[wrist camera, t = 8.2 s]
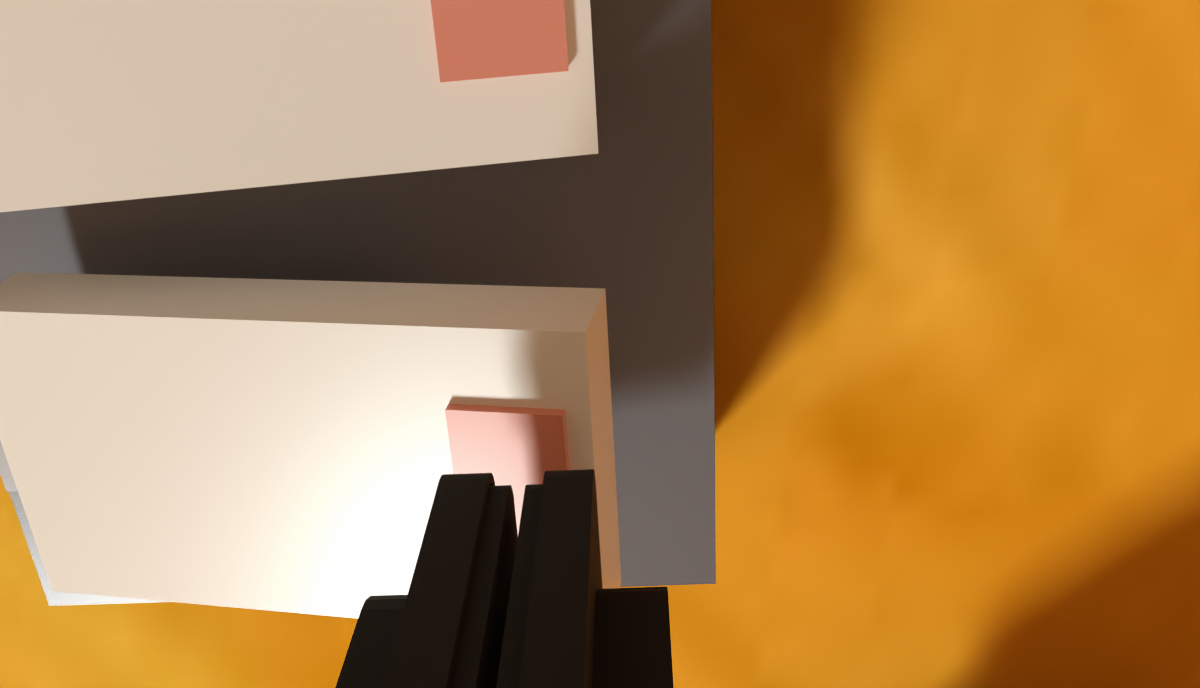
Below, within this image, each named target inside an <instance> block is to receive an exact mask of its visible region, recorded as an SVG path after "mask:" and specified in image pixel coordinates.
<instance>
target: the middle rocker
mask: <svg viewBox="0 0 1200 688" xmlns="http://www.w3.org/2000/svg"><path fill="white" fill-rule="evenodd" d="M589 154H598V136H597V117H596V99H595V81H594V63H593V44H592V26H591V8H590V0H0V212H10V211H20V210H31V209H41V208H51V207H61V206H71V205H81V204H91V203H102V202H112V201H122V200H132V199H142V198H152V197H163V196H173V195H183V194H193V193H203V192H213V191H224V190H234V189H244V188H254V187H264V186H274V185H284V184H295V183H305V182H315V181H325V180H335V179H345V178H356V177H366V176H376V175H386V174H396V173H406V172H417V171H427V170H437V169H447V168H457V167H467V166H478V165H488V164H498V163H508V162H518V161H528V160H538V159H549V158H559V157H569V156H579V155H589Z"/></svg>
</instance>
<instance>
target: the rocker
mask: <svg viewBox="0 0 1200 688" xmlns="http://www.w3.org/2000/svg"><path fill="white" fill-rule="evenodd" d="M0 441H1V444H2V447H3V450H4V453H5V456H6V459H7V461H8V464H9V467H10V470H11V473H12V476H13V479H14V481H15V484H16V487H17V490H18V493H19V496H20V499H21V502H22V504H23V507H24V510H25V513H26V516H27V519H28V522H29V525H30V527H31V530H32V533H33V536H34V539H35V542H36V545H37V548H38V550H39V553H40V556H41V559H42V562H43V565H44V568H45V571H46V573H47V576H48V579H49V582H50V585H51V588H52V591H58V592H69V593H80V594H91V595H102V596H113V597H125V598H136V599H147V600H158V601H169V602H180V603H191V604H202V605H213V606H224V607H236V608H247V609H258V610H269V611H280V612H291V613H302V614H313V615H324V616H335V617H346V618H359V615H360V612H361V609H362V607H363V605H364V602H365V600H366V599H367V598H368V597H370V596H381V595H408V592H409V588H410V584H411V581H412V577H413V573H414V570H415V566H416V563H417V559H418V555H419V552H420V548H421V544H422V541H423V537H424V534H425V530H426V526H427V523H428V519H429V515H430V512H431V508H432V505H433V501H434V497H435V494H436V490H437V486H438V483H439V480H440V477H441V475H443V474H469V473H492V474H493V477H494V481H495V486H501V485H511V486H512V490H513V495H514V504H515V514H516V524H517V533H518V532H519V526H520V519H521V512H522V505H523V498H524V491H525V486H526V485H530V484H543V478H544V472H545V471H556V470H585V469H594V471H595V480H596V494H597V510H598V525H599V541H600V556H601V572H602V587H603V589H612V588H620V585H621V564H620V546H619V527H618V509H617V491H616V473H615V455H614V437H613V418H612V400H611V382H610V364H609V346H608V328H607V309H606V291H605V288H573V287H537V286H500V285H464V284H428V283H392V282H355V281H319V280H283V279H247V278H210V277H174V276H138V275H102V274H65V273H29V272H17V273H16V274H14V275H12V276H11V277H9V278H7V279H6V280H4V281H2V282H1V283H0Z"/></svg>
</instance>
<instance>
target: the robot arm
mask: <svg viewBox="0 0 1200 688" xmlns="http://www.w3.org/2000/svg"><path fill="white" fill-rule="evenodd" d="M336 688H673V674H672V657H671V640H670V623H669V605H668V590H667V587H645V588H612V589H603V587H602V572H601V556H600V541H599V525H598V510H597V494H596V480H595V471H594V469H585V470H556V471H545V472H544V478H543V484H530V485H526V486H525V491H524V498H523V505H522V512H521V519H520V526H519V532H518V533H517V524H516V514H515V504H514V495H513V490H512V486H511V485H501V486H495V481H494V477H493V474H492V473H469V474H443V475H441V477H440V480H439V483H438V486H437V490H436V494H435V497H434V501H433V505H432V508H431V512H430V515H429V519H428V523H427V526H426V530H425V534H424V537H423V541H422V544H421V548H420V552H419V555H418V559H417V563H416V566H415V570H414V573H413V577H412V581H411V584H410V588H409V592H408V595H381V596H370V597H368V598H367V599H366V600H365V602H364V605H363V607H362V609H361V612H360V615H359V618H358V621H357V624H356V627H355V630H354V633H353V636H352V639H351V642H350V645H349V648H348V651H347V654H346V657H345V660H344V664H343V667H342V670H341V673H340V676H339V679H338V682H337V685H336Z"/></svg>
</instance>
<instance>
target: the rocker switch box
mask: <svg viewBox="0 0 1200 688" xmlns="http://www.w3.org/2000/svg"><path fill="white" fill-rule="evenodd" d="M590 8H591V26H592V44H593V63H594V81H595V99H596V117H597V136H598V154H589V155H579V156H569V157H559V158H549V159H538V160H528V161H518V162H508V163H498V164H488V165H478V166H467V167H457V168H447V169H437V170H427V171H417V172H406V173H396V174H386V175H376V176H366V177H356V178H345V179H335V180H325V181H315V182H305V183H295V184H284V185H274V186H264V187H254V188H244V189H234V190H224V191H213V192H203V193H193V194H183V195H173V196H163V197H152V198H142V199H132V200H122V201H112V202H102V203H91V204H81V205H71V206H61V207H51V208H41V209H31V210H20V211H10V212H0V283H1V282H2V281H4V280H6V279H7V278H9V277H11V276H12V275H14V274H16V273H17V272H29V273H65V274H102V275H138V276H174V277H210V278H247V279H283V280H319V281H355V282H392V283H428V284H464V285H500V286H537V287H573V288H605V291H606V309H607V328H608V346H609V364H610V382H611V400H612V418H613V437H614V455H615V473H616V491H617V509H618V527H619V546H620V564H621V585H620V587H628V586H658V585H688V584H716V563H715V416H714V270H713V124H712V0H590ZM0 475H1V478H2V481H3V483H4V486H5V489H6V492H8V491H9V493H10V496H11V499H12V501H13V504H14V507H15V510H16V513H17V516H18V519H19V521H20V524H21V527H22V530H23V533H24V536H25V538H26V541H27V544H28V547H29V550H30V553H31V555H32V558H33V561H34V564H35V567H36V570H37V572H38V575H39V578H40V581H41V584H42V587H43V589H44V592H45V595H46V598H47V601H48V604H49V606H61V605H91V604H121V603H150V602H169V601H158V600H147V599H136V598H125V597H113V596H102V595H91V594H80V593H69V592H58V591H52V588H51V585H50V582H49V579H48V576H47V573H46V571H45V568H44V565H43V562H42V559H41V556H40V553H39V550H38V548H37V545H36V542H35V539H34V536H33V533H32V530H31V527H30V525H29V522H28V519H27V516H26V513H25V510H24V507H23V504H22V502H21V499H20V496H19V493H18V490H17V487H16V484H15V481H14V479H13V476H12V473H11V470H10V467H9V464H8V461H7V459H6V456H5V453H4V450H3V447H2V444H1V441H0Z"/></svg>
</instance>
